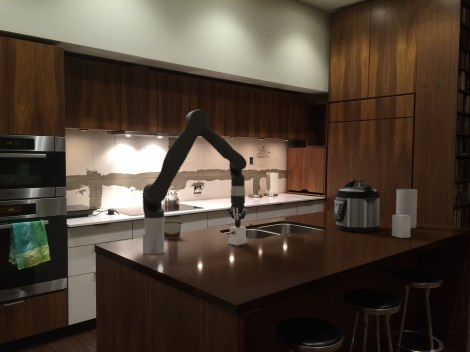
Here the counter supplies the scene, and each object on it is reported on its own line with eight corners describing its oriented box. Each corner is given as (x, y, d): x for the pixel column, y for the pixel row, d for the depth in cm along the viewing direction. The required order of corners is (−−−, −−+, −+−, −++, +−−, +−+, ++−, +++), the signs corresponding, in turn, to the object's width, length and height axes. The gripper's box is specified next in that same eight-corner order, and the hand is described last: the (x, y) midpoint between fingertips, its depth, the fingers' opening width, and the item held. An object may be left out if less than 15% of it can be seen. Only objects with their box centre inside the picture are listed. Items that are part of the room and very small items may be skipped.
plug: (236, 245, 201) (236, 229, 201) (227, 243, 205) (227, 227, 204) (245, 242, 207) (245, 227, 206) (237, 241, 211) (237, 225, 210)
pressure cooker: (336, 224, 269) (336, 178, 268) (379, 226, 260) (380, 179, 258) (331, 231, 241) (332, 180, 240) (380, 235, 232) (381, 182, 230)
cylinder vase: (391, 225, 264) (392, 189, 263) (406, 224, 268) (407, 188, 266) (404, 229, 252) (405, 190, 251) (420, 228, 256) (421, 190, 255)
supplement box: (410, 237, 226) (411, 215, 225) (400, 238, 223) (401, 216, 223) (401, 234, 233) (401, 213, 232) (391, 235, 230) (391, 214, 230)
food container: (184, 236, 226) (184, 219, 226) (182, 238, 220) (182, 220, 220) (163, 235, 228) (163, 218, 227) (160, 237, 221) (160, 220, 221)
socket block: (237, 246, 202) (237, 240, 201) (228, 244, 205) (228, 238, 205) (246, 243, 208) (246, 237, 207) (238, 241, 211) (238, 236, 211)
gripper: (223, 194, 207) (223, 226, 208) (242, 195, 198) (242, 229, 199) (233, 193, 212) (232, 224, 213) (252, 194, 204) (251, 227, 205)
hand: (237, 227), depth 206 cm, fingers closed
